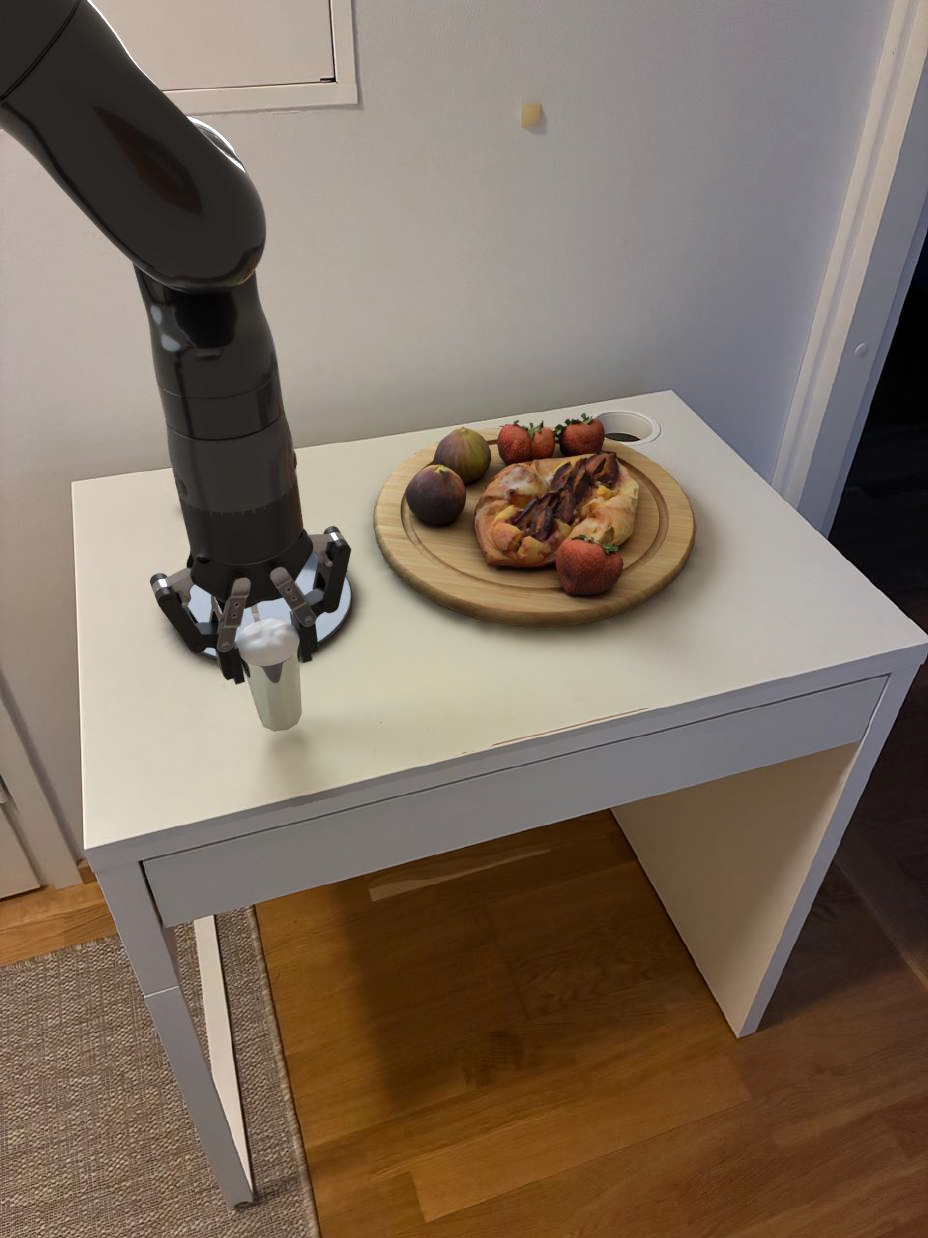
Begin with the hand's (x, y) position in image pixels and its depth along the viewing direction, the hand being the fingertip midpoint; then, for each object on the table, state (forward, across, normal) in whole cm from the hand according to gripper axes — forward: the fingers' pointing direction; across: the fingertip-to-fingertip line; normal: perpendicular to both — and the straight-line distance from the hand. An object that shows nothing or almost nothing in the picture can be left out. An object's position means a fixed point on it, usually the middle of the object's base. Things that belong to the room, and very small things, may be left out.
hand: (270, 665), depth 72 cm
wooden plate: (+7, -31, -15) cm, 35 cm away
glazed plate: (+7, -3, -15) cm, 17 cm away
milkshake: (+6, 0, 0) cm, 6 cm away
